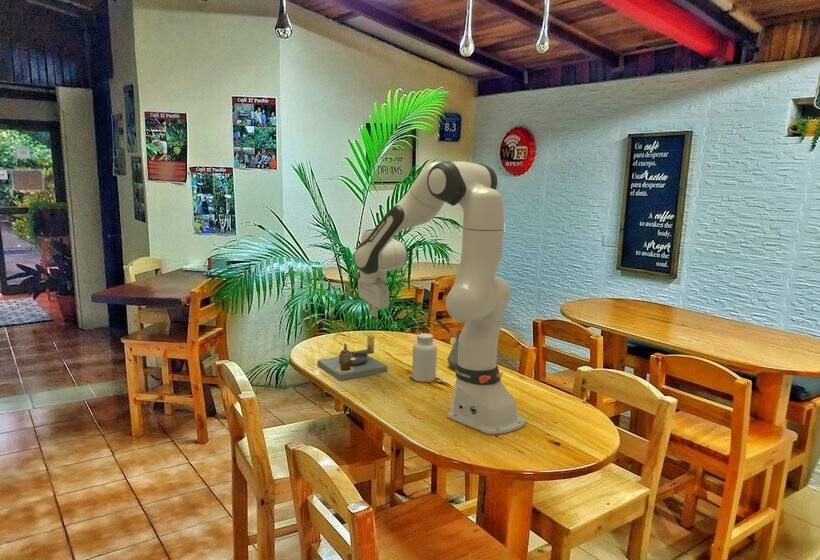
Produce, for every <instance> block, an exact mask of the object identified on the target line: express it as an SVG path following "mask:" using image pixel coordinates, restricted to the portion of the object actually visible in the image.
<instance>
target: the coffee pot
mask: <svg viewBox="0 0 820 560" xmlns="http://www.w3.org/2000/svg"><path fill="white" fill-rule="evenodd" d="M432 321H433V322H432V324H433V323H435V324H436V323H438V324H439V325H440V326H441V327H442V328H443V329H444V330H445V331H447V332H448V333H449V334H450V335H451V336H452V337H453V338H455V339H456V340H455V342H454V344H453V346H452V348H451V350H450V352H449V354H448V357H447V362H448V364H449V365H450V366H451V367H452V369H454V370H455V368H456V363H457V362H458V339H459V335H460V333H461V331H462V330H463V329H460V330H456V331H455V332H452V330H451V329H450V328H449V327H448V326H447V325H446V324H444V323H443V322H442V320H439V319H438V318H434V320H432ZM434 321H435V322H434Z"/></svg>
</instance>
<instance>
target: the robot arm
mask: <svg viewBox="0 0 820 560" xmlns="http://www.w3.org/2000/svg"><path fill="white" fill-rule="evenodd" d="M497 186H498V177H497V173H496V172H495V170H494V169H493V168H492V167H491V166H488V165H486V164H483V163H474V162H468V161H464V160H463V161H462V160H461V161H460V160H459V161H456V160H455V161H447V160H446V161H442V162H441V161H432V162H430V163H428V164H427V165H426V166H425V167H424V168H423V169H422V170H421V172H420V173H419V174H418V176H416V179H414V181H413V183H412V184H411V186H410V188H409V190H408V191H407V192H406V193H405V194H404V196H403V197H402V198H401V199H400V200H399V201H398V202H397V203H395V205H394V206H392V207H391V208H390V209H389V210H388V211H387V212H386V213H385V214H384V215H383V217H382V218H381V220H380V221H379V222H378V223H377V225H376V226H375V228H373V229H371V228H370V229H366V230H364V231H363V232H362V236H361V242H360V243H359V244H358V245H357V247H356V249H355V251H354V253H353V262H354V264H355V266H356V268H357V269H358V270H359V271H357V272H356V278H357V279H358V280H357V288H358V290H357V292H358V297H359V298H360V299H362V300H364V301H365V302H367V305H368V309H369V315H370V316H371V317H374V318H375V317H378V311H379V309H388V308H389V307H390V291H389V286H388V285H387V284H386V282H387V281H388V280H387V278H388V277H387V276H388V273H387V272H388V271H394V270H395V271H396V270H400V269H403V268H404V267H405V266H406V264H407V261H408V258H409V254H408V253H409V252H408V248H407V247H406V245H405V244H404V243H403V242H402V241H399V240H397V239H395V238H394V237H395V236H396V235H397V234H399V233H400V232H401V231H404V230H407V229H408V228H412V227H416V226H419V225H424V224H427V223H429V222H430V221H432V219H434V218H435V217H436V216H437V215H438V214H439V212H440V211H441V209H442V208H443V206H444V205H445V203H447V204H448V205H450V206H456V205H459V206H460V207H461V209H462V212H463V223H462V238H461V239H462V240H461V255H460V261H459V265H458V269H457V271H456V276H455V279H454V282H453V284H452V286H451V289H450V290H449V292H448V294H447V295H446V297H445V308H446V311H447V312H448V315H449V316H450V317H451V318H452V319H453V320H454V321H457V322H460V323H464V325H463V328H462V329H461V330H462V331H461V333H460V335H459V339H458V362H457V363H456V368H455V369H454V370H455V371H454V372H455V377H456V381H455V384H454V387H453V391H452V397H451V404H450V405H451V406H450V409H449V412H448V414H447V415H448V416H447V418H449V419H450V420H453V421H455V422H457V423H460V424H462V425H464V426H467V427H470V428H471V429H475V430H476V431H479V432H481V433H485V434H487V435H500V434H506V433H510V432H514V431H517V430H519V429H521V428H523V427H524V426H525V425H526V419H524V417H523V416H521V415H519V414H518V408H517V407H518V406H517V402H516V400H515V398H514V396H513V394H512V393H510V391H508V389H507V388H506V386H505V385H504V384H503V382H502V381H501V378H502V377H504V375H503V374H504V372H503V371H502V372H500V369H499V367H498V361H497V360H498V349H499V348H498V347H499V346H498V345H499V337H500V332H501V329H502V324H503V321H504V316H505V312H506V309H507V306H508V304H509V302H510V301H511V298H512V289H511V286H510V284H509V282H508V281H507V280H506V279H504V278H502V277H500V276H496V272H497V269H498V267H499V264H500V263H501V261H502V258H503V251H504V250H503V248H504V247H503V246H504V227H505V226H504V225H505V215H504V213H505V212H504V204H503V197H502V195H501V193H500V192H499V191H498V190H497V188H498V187H497Z"/></svg>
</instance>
